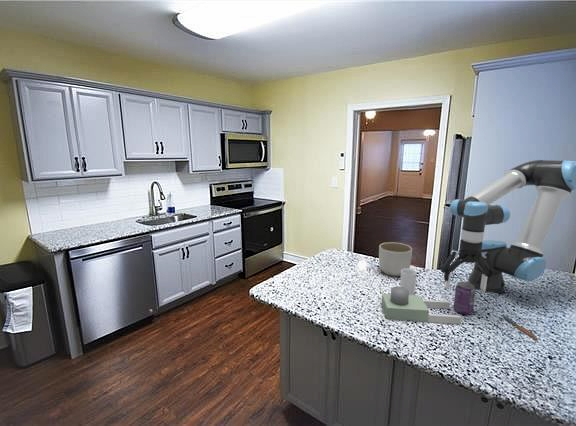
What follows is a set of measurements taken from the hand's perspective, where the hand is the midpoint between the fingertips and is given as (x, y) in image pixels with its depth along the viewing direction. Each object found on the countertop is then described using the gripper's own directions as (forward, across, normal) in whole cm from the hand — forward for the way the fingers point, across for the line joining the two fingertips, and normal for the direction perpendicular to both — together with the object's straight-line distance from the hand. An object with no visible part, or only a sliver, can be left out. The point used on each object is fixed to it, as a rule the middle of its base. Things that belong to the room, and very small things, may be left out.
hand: (464, 289), depth 119 cm
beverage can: (+10, 0, 0) cm, 11 cm away
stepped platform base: (+11, +18, +4) cm, 22 cm away
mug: (+11, +20, -13) cm, 26 cm away
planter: (+10, +20, -37) cm, 44 cm away
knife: (+11, -16, +9) cm, 21 cm away
